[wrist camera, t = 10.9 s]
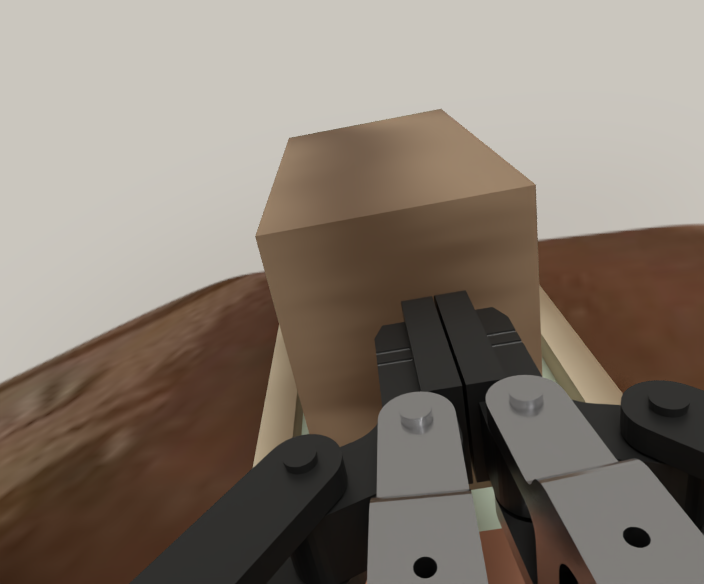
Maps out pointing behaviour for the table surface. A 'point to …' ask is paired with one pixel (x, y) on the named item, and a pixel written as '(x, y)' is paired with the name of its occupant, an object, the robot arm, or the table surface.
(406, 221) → the walnut block
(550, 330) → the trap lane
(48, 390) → the table surface
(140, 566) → the table surface
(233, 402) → the table surface
